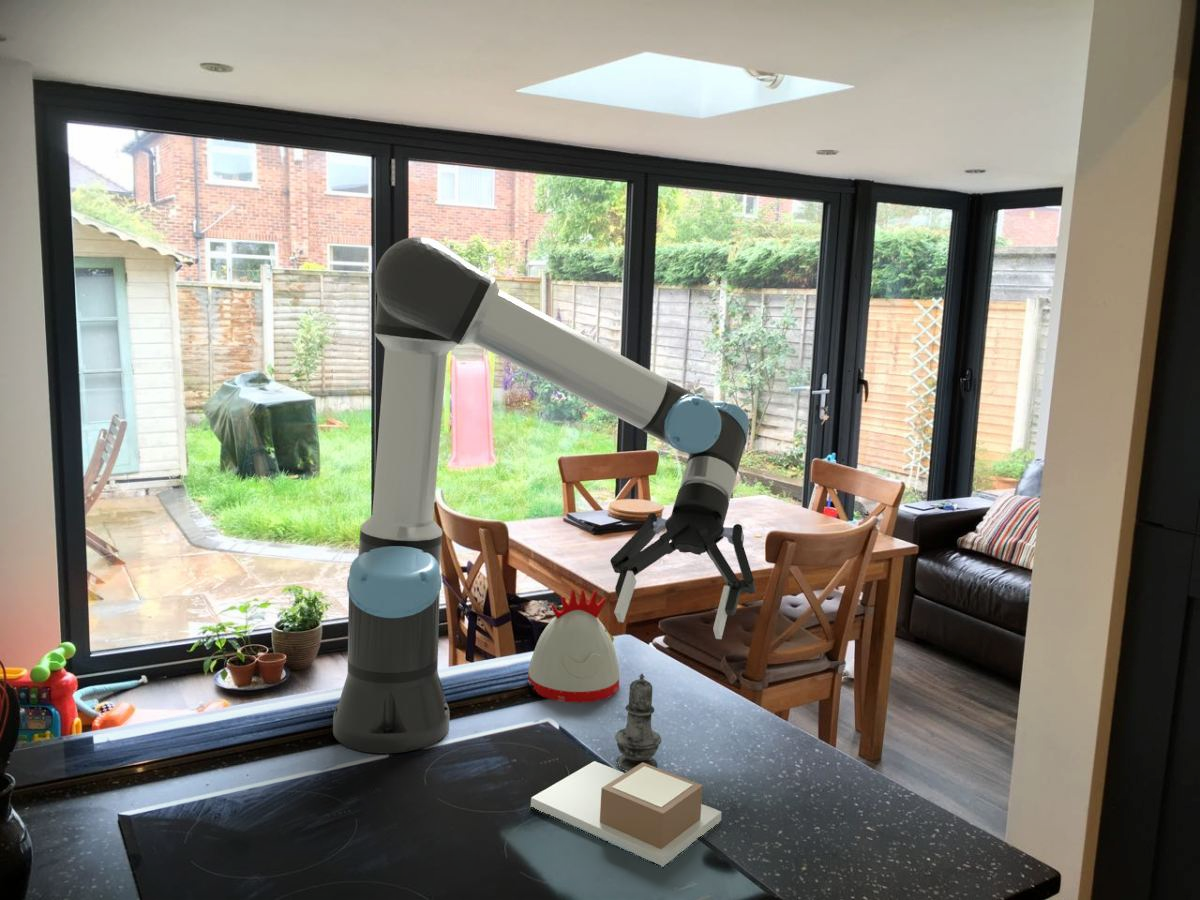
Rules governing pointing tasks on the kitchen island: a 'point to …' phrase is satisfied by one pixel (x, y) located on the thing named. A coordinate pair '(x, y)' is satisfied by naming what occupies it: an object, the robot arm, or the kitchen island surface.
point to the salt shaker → (638, 728)
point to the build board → (587, 811)
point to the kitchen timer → (575, 654)
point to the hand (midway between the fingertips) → (666, 625)
